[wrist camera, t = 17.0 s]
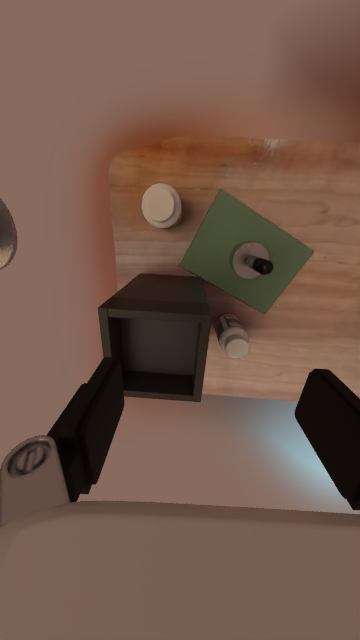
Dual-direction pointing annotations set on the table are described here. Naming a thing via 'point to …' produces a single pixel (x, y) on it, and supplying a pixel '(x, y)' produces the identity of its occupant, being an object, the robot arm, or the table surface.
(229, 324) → the pill bottle
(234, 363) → the table surface
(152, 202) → the supplement bottle
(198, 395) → the black box
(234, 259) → the meat pounder
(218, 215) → the green mat
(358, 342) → the table surface
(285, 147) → the table surface
